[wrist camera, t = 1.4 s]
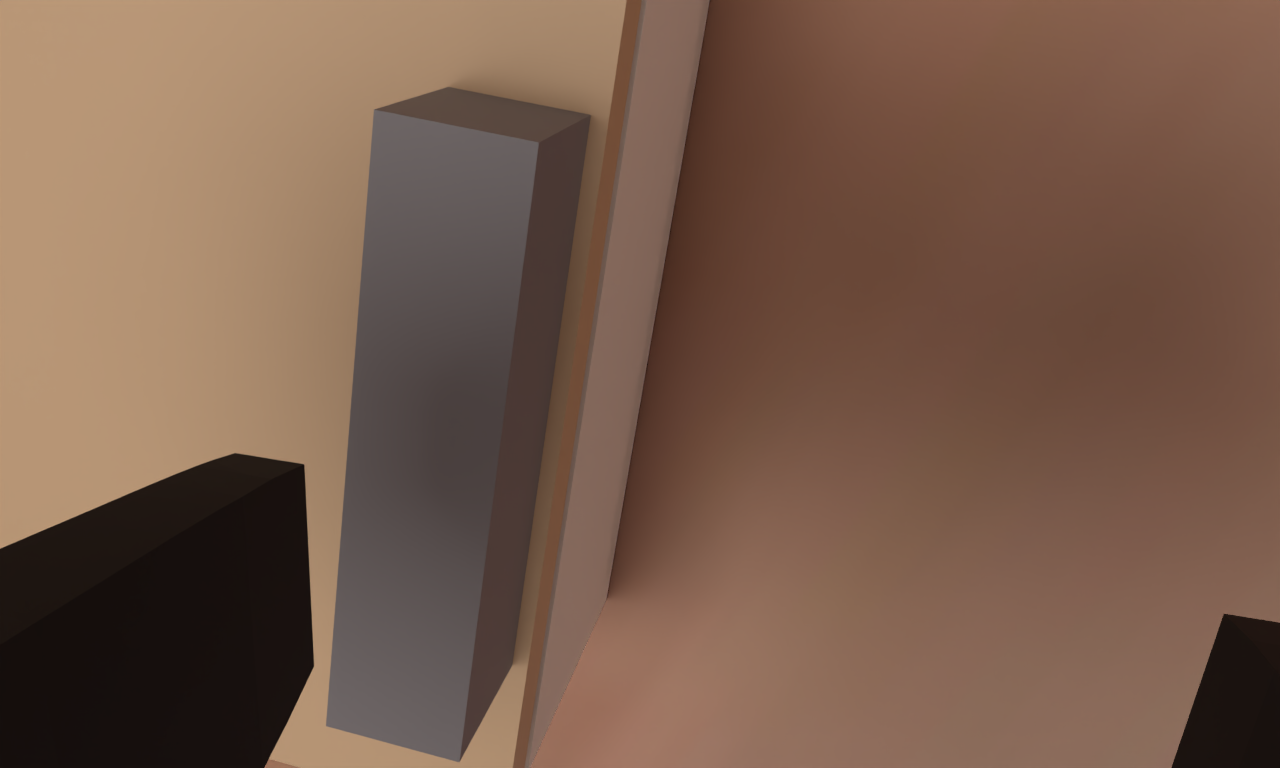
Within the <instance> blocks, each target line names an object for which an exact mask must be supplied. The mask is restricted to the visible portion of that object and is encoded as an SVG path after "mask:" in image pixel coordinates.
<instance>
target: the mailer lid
mask: <svg viewBox="0 0 1280 768" xmlns="http://www.w3.org/2000/svg"><path fill="white" fill-rule="evenodd" d="M641 1H642V0H0V548H3V547H5V546H8V545H10V544H12V543H15V542H17V541H19V540H22V539H24V538H26V537H29V536H31V535H33V534H36V533H38V532H40V531H43V530H45V529H47V528H50V527H52V526H54V525H57V524H59V523H61V522H64V521H66V520H69V519H71V518H73V517H76V516H78V515H80V514H83V513H85V512H87V511H90V510H92V509H94V508H97V507H99V506H101V505H104V504H106V503H108V502H111V501H113V500H115V499H118V498H120V497H122V496H125V495H127V494H129V493H132V492H134V491H136V490H139V489H141V488H143V487H146V486H148V485H150V484H153V483H155V482H158V481H160V480H162V479H165V478H167V477H170V476H172V475H175V474H177V473H180V472H182V471H185V470H187V469H190V468H192V467H195V466H198V465H200V464H203V463H206V462H209V461H211V460H214V459H218V458H221V457H224V456H227V455H230V454H233V453H238V454H245V455H251V456H257V457H263V458H269V459H275V460H281V461H288V462H294V463H300V464H304V466H305V487H306V507H307V528H308V549H309V569H310V590H311V610H312V631H313V652H314V668H313V670H312V672H311V674H310V676H309V678H308V680H307V682H306V685H305V687H304V689H303V691H302V693H301V695H300V697H299V699H298V701H297V703H296V706H295V708H294V710H293V712H292V714H291V716H290V718H289V720H288V722H287V724H286V726H285V728H284V730H283V732H282V734H281V736H280V738H279V740H278V742H277V744H276V746H275V748H274V750H273V752H272V754H271V755H270V757H269V759H271V760H274V761H278V762H282V763H285V764H289V765H292V766H296V767H300V768H524V767H525V761H526V754H527V748H528V741H529V735H530V728H531V721H532V715H533V708H534V702H535V695H536V689H537V682H538V676H539V669H540V663H541V656H542V649H543V643H544V636H545V630H546V623H547V617H548V610H549V604H550V597H551V591H552V584H553V577H554V571H555V564H556V558H557V551H558V545H559V538H560V532H561V525H562V519H563V512H564V505H565V499H566V492H567V486H568V479H569V473H570V466H571V460H572V453H573V447H574V440H575V433H576V427H577V420H578V414H579V407H580V401H581V394H582V388H583V381H584V375H585V368H586V361H587V355H588V348H589V342H590V335H591V329H592V322H593V316H594V309H595V303H596V296H597V289H598V283H599V276H600V270H601V263H602V257H603V250H604V244H605V237H606V231H607V224H608V217H609V211H610V204H611V198H612V191H613V185H614V178H615V172H616V165H617V159H618V152H619V145H620V139H621V132H622V126H623V119H624V113H625V106H626V100H627V93H628V87H629V80H630V73H631V67H632V60H633V54H634V47H635V41H636V34H637V28H638V21H639V15H640V8H641Z"/></svg>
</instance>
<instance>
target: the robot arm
mask: <svg viewBox="0 0 1280 768" xmlns="http://www.w3.org/2000/svg"><path fill="white" fill-rule="evenodd" d="M313 668H314V652H313V631H312V610H311V590H310V569H309V549H308V528H307V507H306V487H305V466H304V464H300V463H294V462H288V461H281V460H275V459H269V458H263V457H257V456H251V455H245V454H238V453H233V454H230V455H227V456H224V457H221V458H218V459H214V460H211V461H209V462H206V463H203V464H200V465H198V466H195V467H192V468H190V469H187V470H185V471H182V472H180V473H177V474H175V475H172V476H170V477H167V478H165V479H162V480H160V481H158V482H155V483H153V484H150V485H148V486H146V487H143V488H141V489H139V490H136V491H134V492H132V493H129V494H127V495H125V496H122V497H120V498H118V499H115V500H113V501H111V502H108V503H106V504H104V505H101V506H99V507H97V508H94V509H92V510H90V511H87V512H85V513H83V514H80V515H78V516H76V517H73V518H71V519H69V520H66V521H64V522H61V523H59V524H57V525H54V526H52V527H50V528H47V529H45V530H43V531H40V532H38V533H36V534H33V535H31V536H29V537H26V538H24V539H22V540H19V541H17V542H15V543H12V544H10V545H8V546H5V547H3V548H0V768H264V767H265V765H266V763H267V761H268V759H269V757H270V755H271V754H272V752H273V750H274V748H275V746H276V744H277V742H278V740H279V738H280V736H281V734H282V732H283V730H284V728H285V726H286V724H287V722H288V720H289V718H290V716H291V714H292V712H293V710H294V708H295V706H296V703H297V701H298V699H299V697H300V695H301V693H302V691H303V689H304V687H305V685H306V682H307V680H308V678H309V676H310V674H311V672H312V670H313ZM1172 768H1280V623H1278V622H1272V621H1265V620H1259V619H1253V618H1247V617H1241V616H1235V615H1228V614H1224V615H1223V618H1222V621H1221V624H1220V627H1219V630H1218V633H1217V636H1216V639H1215V642H1214V645H1213V648H1212V651H1211V653H1210V656H1209V659H1208V662H1207V665H1206V668H1205V671H1204V674H1203V677H1202V680H1201V683H1200V686H1199V689H1198V692H1197V695H1196V697H1195V700H1194V703H1193V706H1192V709H1191V712H1190V715H1189V718H1188V721H1187V724H1186V727H1185V730H1184V733H1183V736H1182V739H1181V741H1180V744H1179V747H1178V750H1177V753H1176V756H1175V759H1174V762H1173V765H1172Z"/></svg>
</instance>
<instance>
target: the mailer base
mask: <svg viewBox="0 0 1280 768" xmlns="http://www.w3.org/2000/svg"><path fill="white" fill-rule="evenodd" d="M709 2H710V0H642V1H641V8H640V15H639V21H638V28H637V34H636V41H635V47H634V54H633V60H632V67H631V73H630V80H629V87H628V93H627V100H626V106H625V113H624V119H623V126H622V132H621V139H620V145H619V152H618V159H617V165H616V172H615V178H614V185H613V191H612V198H611V204H610V211H609V217H608V224H607V231H606V237H605V244H604V250H603V257H602V263H601V270H600V276H599V283H598V289H597V296H596V303H595V309H594V316H593V322H592V329H591V335H590V342H589V348H588V355H587V361H586V368H585V375H584V381H583V388H582V394H581V401H580V407H579V414H578V420H577V427H576V433H575V440H574V447H573V453H572V460H571V466H570V473H569V479H568V486H567V492H566V499H565V505H564V512H563V519H562V525H561V532H560V538H559V545H558V551H557V558H556V564H555V571H554V577H553V584H552V591H551V597H550V604H549V610H548V617H547V623H546V630H545V636H544V643H543V649H542V656H541V663H540V669H539V676H538V682H537V689H536V695H535V702H534V708H533V715H532V721H531V728H530V735H529V741H528V748H527V754H526V761H525V767H524V768H530V767H531V765H532V762H533V760H534V758H535V756H536V754H537V751H538V749H539V747H540V745H541V743H542V740H543V738H544V736H545V734H546V732H547V729H548V727H549V725H550V723H551V721H552V718H553V716H554V714H555V712H556V710H557V707H558V705H559V703H560V701H561V699H562V697H563V694H564V692H565V690H566V688H567V686H568V683H569V681H570V679H571V677H572V675H573V672H574V670H575V668H576V666H577V664H578V661H579V659H580V657H581V655H582V653H583V650H584V648H585V646H586V644H587V642H588V639H589V637H590V635H591V633H592V631H593V628H594V626H595V624H596V622H597V620H598V617H599V615H600V613H601V611H602V609H603V606H604V604H605V602H606V599H607V594H608V588H609V582H610V576H611V570H612V565H613V559H614V553H615V547H616V541H617V536H618V530H619V524H620V518H621V513H622V507H623V501H624V495H625V489H626V484H627V478H628V472H629V466H630V460H631V455H632V449H633V443H634V437H635V431H636V426H637V420H638V414H639V408H640V402H641V397H642V391H643V385H644V379H645V373H646V368H647V362H648V356H649V350H650V344H651V339H652V333H653V327H654V321H655V315H656V310H657V304H658V298H659V292H660V286H661V281H662V275H663V269H664V263H665V257H666V252H667V246H668V240H669V234H670V228H671V223H672V217H673V211H674V205H675V199H676V194H677V188H678V182H679V176H680V170H681V165H682V159H683V153H684V147H685V141H686V136H687V130H688V124H689V118H690V112H691V107H692V101H693V95H694V89H695V83H696V78H697V72H698V66H699V60H700V54H701V49H702V43H703V37H704V31H705V25H706V20H707V14H708V8H709Z"/></svg>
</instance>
